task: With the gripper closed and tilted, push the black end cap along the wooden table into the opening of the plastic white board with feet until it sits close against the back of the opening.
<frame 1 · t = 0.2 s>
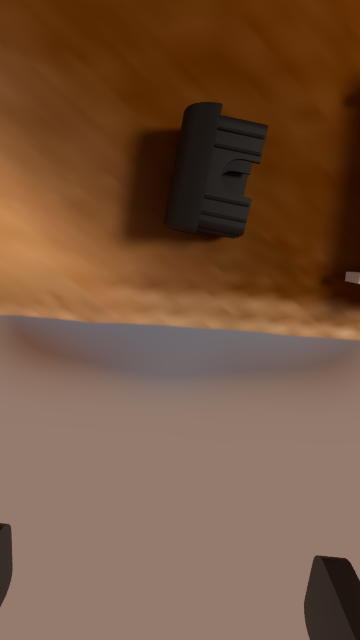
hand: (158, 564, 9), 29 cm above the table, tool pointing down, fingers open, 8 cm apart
end cap: (208, 185, 34), on the table
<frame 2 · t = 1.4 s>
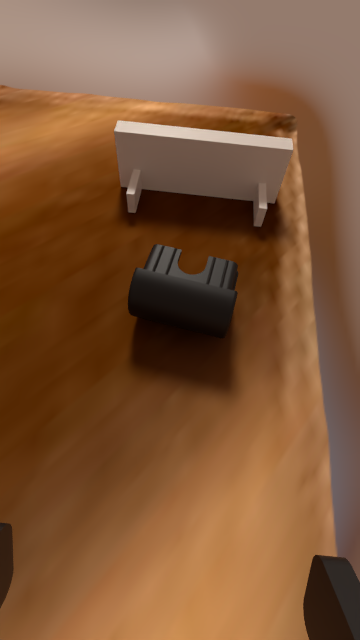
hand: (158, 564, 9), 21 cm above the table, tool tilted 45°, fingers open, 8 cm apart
end cap: (183, 314, 38), on the table
white board with feet: (199, 176, 44), on the table
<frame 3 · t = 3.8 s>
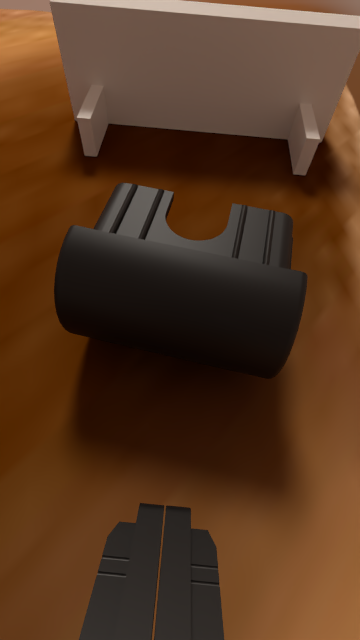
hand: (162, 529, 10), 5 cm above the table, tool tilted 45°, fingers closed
end cap: (180, 325, 20), on the table
white board with feet: (201, 88, 26), on the table
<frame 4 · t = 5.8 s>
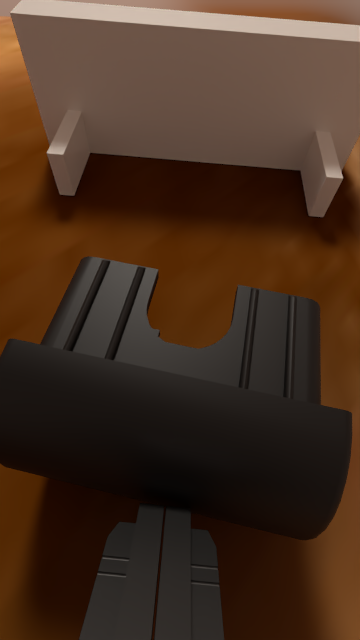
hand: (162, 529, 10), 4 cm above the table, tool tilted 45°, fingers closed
end cap: (172, 422, 16), on the table, touching gripper
white board with feet: (198, 116, 21), on the table
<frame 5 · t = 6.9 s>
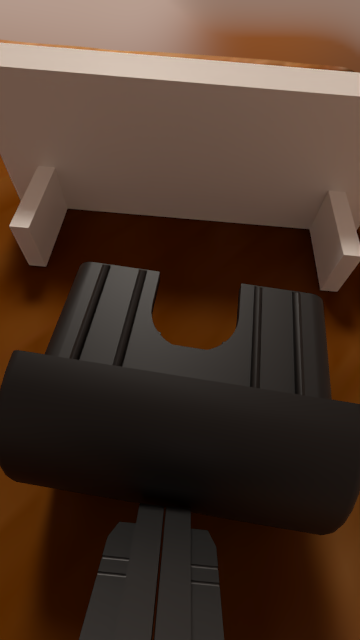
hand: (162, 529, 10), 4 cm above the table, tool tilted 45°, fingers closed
end cap: (178, 424, 15), on the table, touching gripper
white board with feet: (191, 177, 18), on the table
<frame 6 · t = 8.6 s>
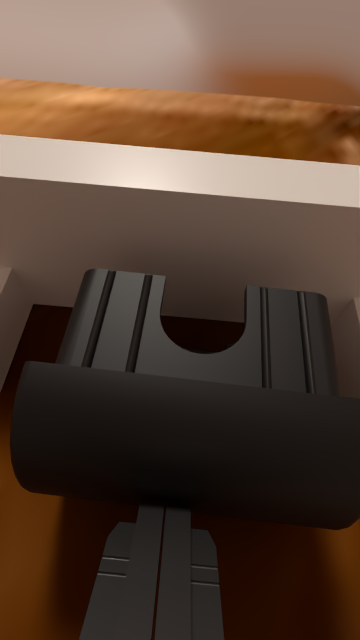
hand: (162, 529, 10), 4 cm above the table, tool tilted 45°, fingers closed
end cap: (186, 426, 16), on the table, touching gripper
white board with feet: (181, 292, 14), on the table
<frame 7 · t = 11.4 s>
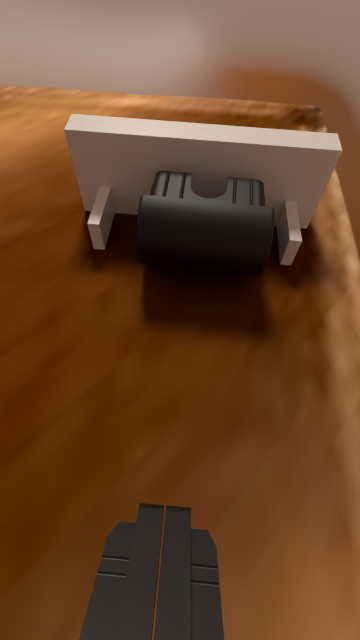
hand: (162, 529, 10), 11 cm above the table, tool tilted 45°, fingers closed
end cap: (200, 260, 31), on the table
white board with feet: (197, 193, 29), on the table
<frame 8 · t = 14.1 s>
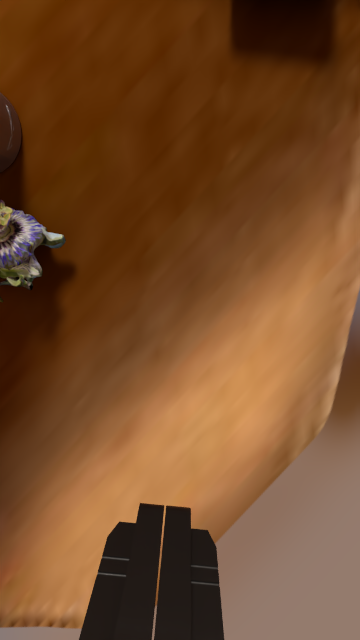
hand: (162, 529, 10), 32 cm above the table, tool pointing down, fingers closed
passion flower: (19, 253, 40), on the table
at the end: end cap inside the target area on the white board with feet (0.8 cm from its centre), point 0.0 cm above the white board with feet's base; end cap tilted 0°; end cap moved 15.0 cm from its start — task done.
